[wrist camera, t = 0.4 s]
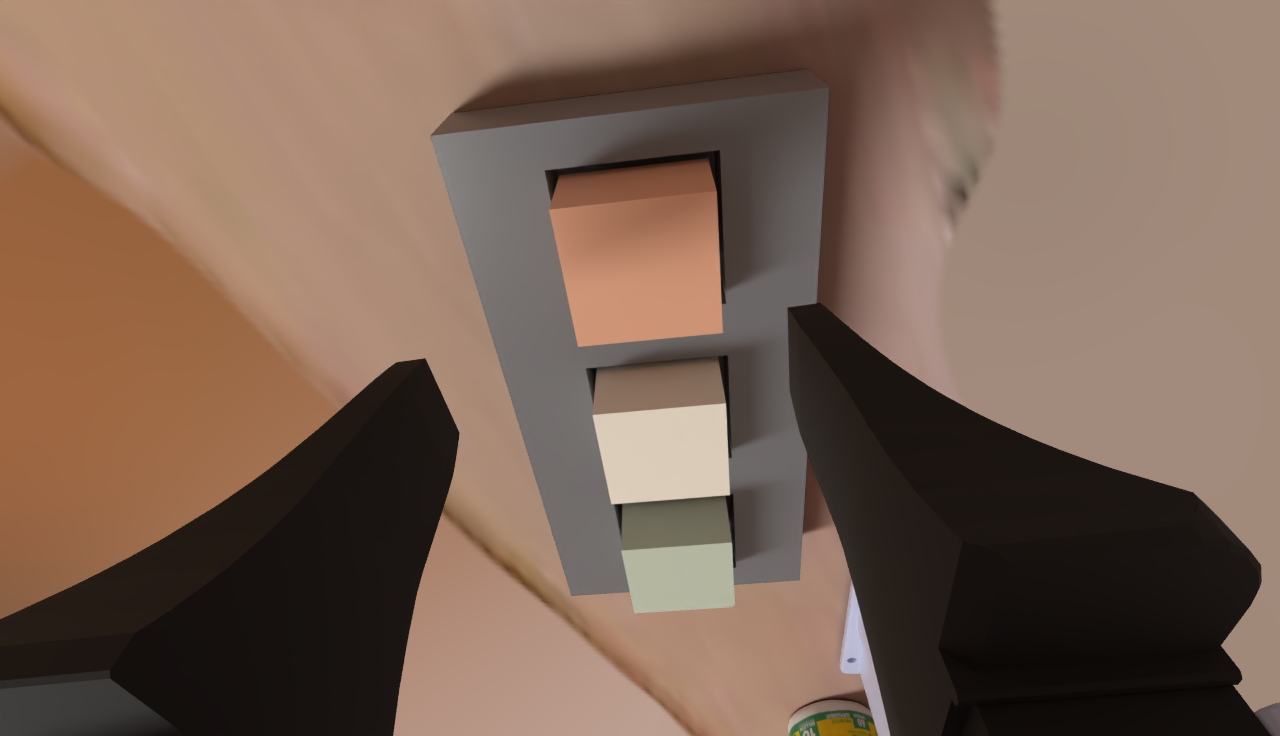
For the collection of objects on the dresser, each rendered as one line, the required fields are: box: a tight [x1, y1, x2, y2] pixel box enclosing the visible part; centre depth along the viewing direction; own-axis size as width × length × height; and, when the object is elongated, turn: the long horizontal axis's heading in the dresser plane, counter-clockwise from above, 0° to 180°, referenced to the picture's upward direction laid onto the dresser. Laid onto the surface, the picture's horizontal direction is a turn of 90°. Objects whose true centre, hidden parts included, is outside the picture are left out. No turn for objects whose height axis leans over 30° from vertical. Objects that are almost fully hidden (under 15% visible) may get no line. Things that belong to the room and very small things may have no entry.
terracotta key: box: [549, 158, 723, 347], centre depth 17 cm, size 4×4×2 cm
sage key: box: [621, 495, 735, 613], centre depth 25 cm, size 4×4×2 cm
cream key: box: [593, 356, 730, 504], centre depth 21 cm, size 4×4×2 cm
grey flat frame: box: [430, 69, 830, 596], centre depth 22 cm, size 20×10×2 cm, turn 7°
